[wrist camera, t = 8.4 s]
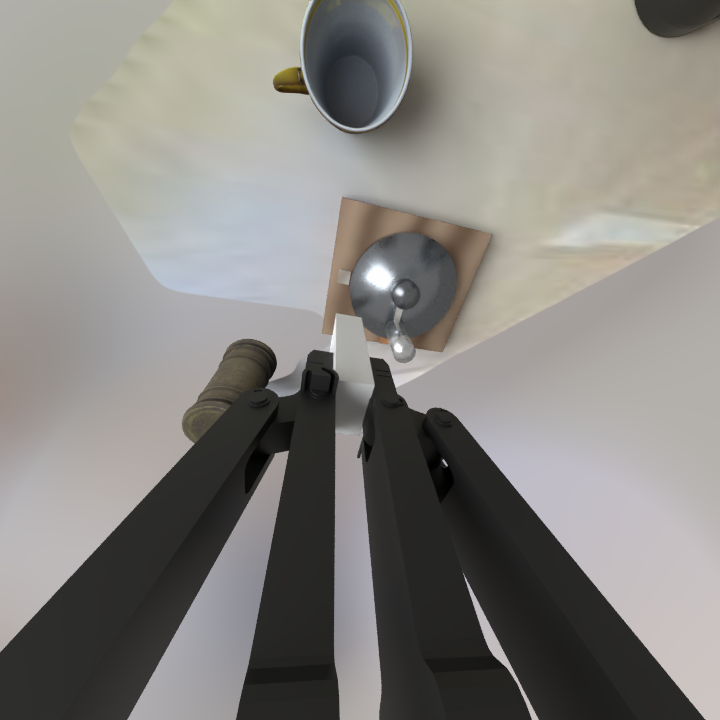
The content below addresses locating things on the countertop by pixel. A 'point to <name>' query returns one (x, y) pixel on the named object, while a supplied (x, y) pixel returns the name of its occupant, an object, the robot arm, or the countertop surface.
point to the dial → (402, 288)
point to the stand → (375, 222)
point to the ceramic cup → (352, 61)
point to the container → (230, 384)
